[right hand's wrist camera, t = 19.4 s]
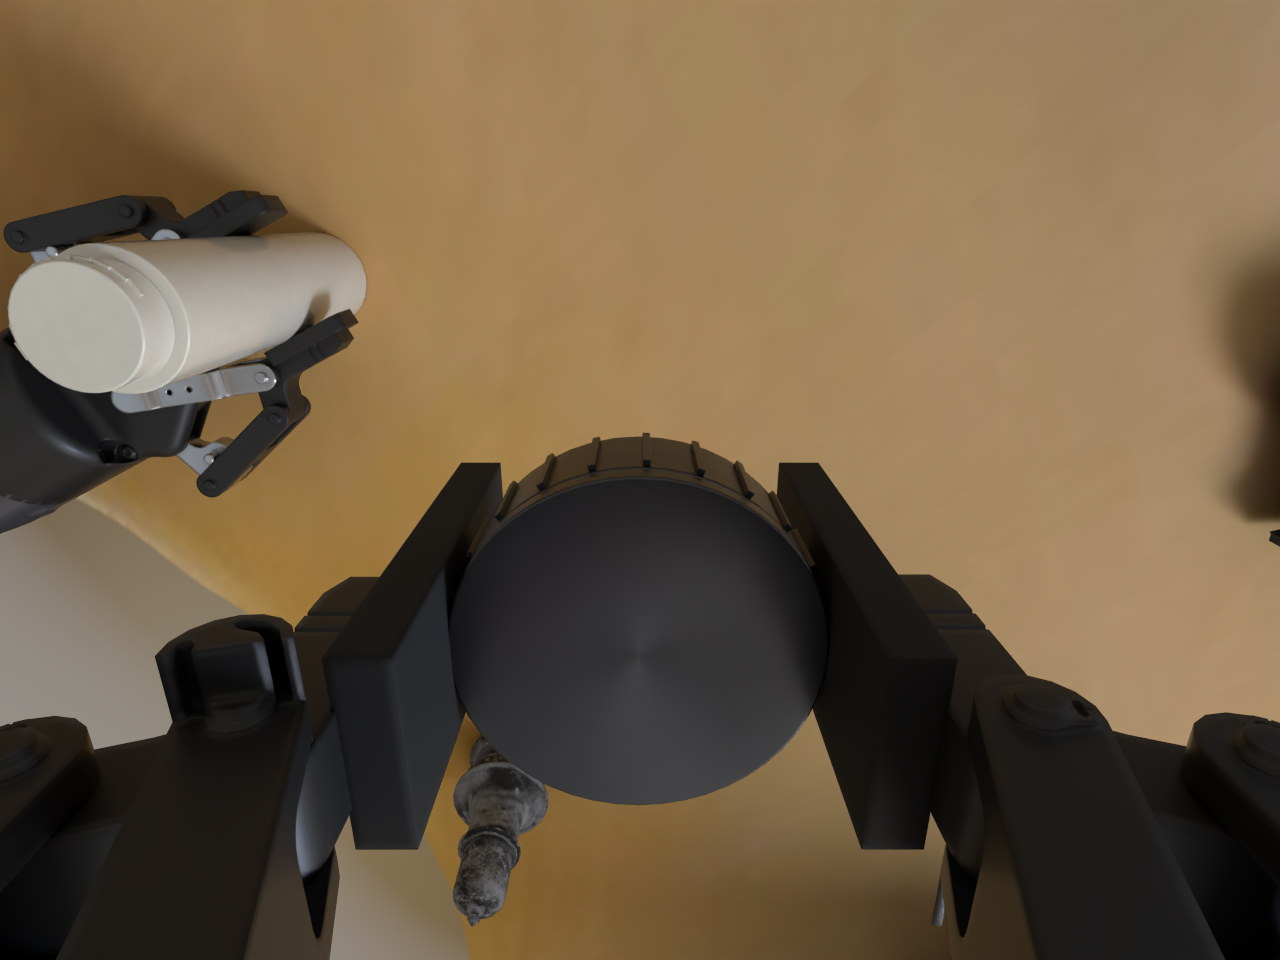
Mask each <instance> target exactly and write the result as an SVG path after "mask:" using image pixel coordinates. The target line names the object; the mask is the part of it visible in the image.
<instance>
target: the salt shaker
mask: <svg viewBox="0 0 1280 960" xmlns="http://www.w3.org/2000/svg"><path fill="white" fill-rule="evenodd" d="M470 763H471V767H470V768H469V770H468V771H467V772H466V773H465V774H464V775H463V776H461V778H460V780H459V781H458V783H457V784H456V787H455V791H454V795H453V797H454V806H455V808H456V810H457V812H458V815H459V816H460V817H461V818H462V819H463V821H464V822H465V823H466V824H467V825H469V829H468V832H467V833H465V834H464V835H463V836H462V838H461V840H460V841H459V845H458V854H459V857H460V859H461V864H460V867H459V871H458V875H457V878H456V882H455V886H454V890H453V898H454V902H455V904H456V906H457V908H458V910H459V911H460V912H461V913H462V914H464V915H465V916H467V920H468V921H469V924H470V925H471V926H472V927H473V926H474V925H476V924H477V923H479V922H480V919H485V918H489V917H491V916H493V915H494V914H495V913H497V912H498V911H499V910H500V909H501V907H502V906H503V903H504V901H505V897H506V892H507V887H508V882H509V876H510V871H511V869H512V868H514V867H515V866H516V864H517V863H518V861H519V858H520V854H521V853H520V846H519V844H518V836H519V835H521V834H523V833H525V832H527V831H529V830H531V829H533V828H534V827H535V826H536V825H538V824H539V823H540V822H541V820H542V819H543V817H544V816H545V814H546V810H547V807H548V794H547V792H546V789H545V786H544V783H542V782H540V781H538V780H536V779H535V778H533V777H531V776H529V775H528V774H526V773H525V772H523V771H522V770H520V769H519V768H517V767H516V766H514V765H513V764H511V763H510V762H509V761H508V760H507V759H505V758H504V757H503V756H502V755H501V754H500V753H498V752H497V751H496V750H495V749H494V748H493V747H492V746H491V745H490V743H489V742H488V741H487V740H486V739H485V738H484V737H483V736H482V737H481V738H479V739H478V740H477V741H476V743H475V745H474V746H473V748H472V751H471V755H470Z"/></svg>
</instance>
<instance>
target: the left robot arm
mask: <svg viewBox="0 0 1280 960" xmlns="http://www.w3.org/2000/svg"><path fill="white" fill-rule="evenodd" d="M286 213H287V210H286V208H285V207H284V205H283V204H282V202H281V201H280V199H279V197H278V196H269V195H261V194H260V192H256V191H234V192H229V193H227V194H225V195H224V196H222V197H220V198H219V199H217V200H215V201H214V202H212V203H211V204H209V205H207V206H206V207H204V208H202V209H201V210H199V211H197V212H196V213H194V214H192V215H191V216H189V217H187V218H186V219H185V218H184V217H182V216H181V215H180V214H179V213H177V212H176V208H175V206H174V205H173V203H172V202H171V201H169V200H168V199H166V198H164V197H153V196H128V195H121V196H116V197H112V198H108V199H104V200H100V201H96V202H92V203H88V204H84V205H79V206H75V207H71V208H67V209H63V210H59V211H55V212H51V213H47V214H43V215H39V216H34V217H30V218H26V219H22V220H18V221H14V222H10V223H8V224H7V225H6V226H5V228H4V238H5V240H6V242H7V244H8V245H9V246H10V247H11V248H12V249H14V250H15V251H18V252H30V254H31V256H32V258H33V260H34V262H35V263H36V262H39V261H41V260H43V259H46V258H48V257H51V256H57V255H59V254H60V253H61V252H63V251H65V250H67V249H69V248H71V247H74V246H77V245H81V244H87V243H99V242H103V241H107V240H111V239H115V238H120V237H124V236H128V235H132V234H136V233H141V234H142V235H143V236H145V237H146V238H147V239H148V240H164V239H184V238H204V237H225V236H245V235H252V234H254V233H255V232H257V231H259V230H260V229H262V228H264V227H266V226H267V225H269V224H271V223H272V222H274V221H276V220H277V219H279V218H281V217H282V216H284V215H285V214H286ZM357 323H359V322H358V321H357V319H356V318H355V316H354V314H353V313H352V311H351V310H350V309H348V310H344V311H341V312H338V313H336V314H334V315H332V316H330V317H328V318H326V319H324V320H322V321H321V322H319V323H317V324H315V325H313V326H312V327H310V328H308V329H306V330H304V331H303V332H301V333H299V334H297V335H296V336H294V337H292V338H290V339H288V340H287V341H285V342H284V343H282V344H280V345H278V346H276V347H274V348H272V349H270V350H269V351H267V352H265V353H264V354H265V355H266V356H267V357H262V358H255V359H240V360H237V361H234V362H231V363H229V364H226V365H223V366H220V367H218V368H215V369H212V370H209V371H206V372H204V373H201V374H198V375H195V376H193V377H190V378H187V379H184V380H182V381H179V382H176V383H173V384H171V385H168V386H165V387H162V388H160V389H157V390H154V391H150V392H147V393H140V394H124V393H117V392H113V391H109V392H104V393H86V392H80V391H76V390H72V389H69V388H66V387H64V386H61V385H59V384H57V383H55V382H54V381H52V380H50V379H49V378H47V377H46V376H44V375H43V374H42V373H40V372H39V371H38V370H37V369H36V368H35V367H34V366H33V365H32V364H31V363H30V362H29V361H28V360H26V359H25V358H24V356H23V355H22V354H21V352H20V351H19V349H18V348H17V347H16V345H15V344H14V343H15V339H14V337H13V335H12V333H11V330H10V328H9V327H8V328H7V329H5V330H3V331H2V332H0V533H3V532H6V531H8V530H11V529H14V528H17V527H19V526H22V525H25V524H27V523H30V522H32V521H34V520H36V519H38V518H40V517H42V516H45V515H48V514H50V513H52V512H54V511H55V510H56V509H58V508H59V507H60V506H62V505H64V504H66V503H67V502H69V501H71V500H73V499H75V498H77V497H78V496H80V495H81V494H84V493H86V492H87V491H89V490H91V489H93V488H95V487H97V486H98V485H100V484H102V483H104V482H106V481H107V480H109V479H111V478H113V477H115V476H117V475H118V474H120V473H122V472H124V471H126V470H127V469H129V468H131V467H133V466H135V465H137V464H138V463H140V462H142V461H144V460H146V459H147V458H150V457H171V456H175V455H176V456H177V457H179V458H180V459H181V460H182V461H183V462H184V463H186V464H187V465H188V466H189V467H190V468H192V469H193V470H194V471H195V472H196V473H197V474H199V475H200V476H199V477H198V479H197V487H198V489H199V491H200V492H201V493H202V494H204V495H205V496H208V497H217V496H219V495H220V494H222V493H223V492H225V491H226V490H228V489H230V488H231V487H233V486H234V485H235V484H237V483H238V482H240V481H241V480H243V479H244V478H246V477H247V476H248V475H249V474H250V473H251V472H252V471H253V470H254V469H255V468H256V467H257V466H258V465H259V464H260V463H261V462H262V461H263V460H264V459H265V458H266V457H267V456H268V454H269V453H270V452H271V451H272V450H273V449H274V448H275V447H276V446H277V445H278V444H279V443H280V442H281V441H282V440H283V439H284V438H285V437H286V436H287V435H288V434H289V433H290V432H291V431H292V430H293V429H294V428H295V427H296V426H297V425H298V424H299V423H300V422H301V421H302V420H303V419H304V418H305V417H306V416H307V415H308V414H309V412H310V410H311V405H310V402H309V400H308V399H307V398H306V397H305V396H303V395H302V394H301V391H300V387H299V378H300V375H301V374H302V373H303V372H304V371H305V370H307V369H308V368H310V367H312V366H314V365H316V364H318V363H319V362H321V361H323V360H325V359H327V358H328V357H330V356H332V355H334V354H336V353H338V352H339V351H341V350H343V349H345V348H347V347H348V346H349V344H350V343H351V342H352V340H353V339H354V338H353V336H352V334H351V333H350V331H349V330H348V328H350V327H352V326H354V325H356V324H357ZM256 392H258V393H259V396H260V399H261V402H262V405H263V409H264V410H263V411H262V412H261V413H260V414H259V415H258V416H257V417H256V418H255V419H254V420H253V421H252V422H251V423H250V424H249V425H248V426H247V427H246V428H245V429H244V430H243V431H242V432H241V433H240V434H239V435H238V437H237V438H236V439H235V440H233V439H232V438H229V437H221V438H219V439H217V440H215V441H213V442H206V441H203V440H201V439H200V436H201V433H202V430H203V427H204V424H205V421H206V417H207V414H208V411H209V408H210V405H211V402H212V401H213V400H218V399H222V398H225V397H229V396H235V395H242V394H249V393H256Z"/></svg>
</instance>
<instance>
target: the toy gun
mask: <svg viewBox="0 0 1280 960" xmlns="http://www.w3.org/2000/svg"><path fill="white" fill-rule="evenodd" d="M1270 533H1271V536H1270V539H1269V541H1271V542H1273V543H1274V544H1276V545H1278V546H1280V529H1279V530H1275V531H1271V532H1270Z"/></svg>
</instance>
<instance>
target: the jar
mask: <svg viewBox="0 0 1280 960" xmlns="http://www.w3.org/2000/svg"><path fill="white" fill-rule="evenodd" d="M365 294H366V277H365V273H364V269H363V267H362V264H361V262H360V260H359V259H358V257H357V256H356V254H355V253H354V252H353V251H352V249H351V248H350V247H349V246H347V245H346V244H345V243H344V242H342V241H341V240H339V239H338V238H336V237H334V236H331V235H329V234H325V233H319V232H307V233H286V234H266V235H245V236H225V237H204V238H184V239H164V240H143V241H123V242H102V243H87V244H81V245H77V246H74V247H71V248H69V249H67V250H65V251H63V252H61V253H60V254H59V255H57V256H51V257H48V258H46V259H43V260H41V261H39V262H36V263H33V264H32V265H31V266H30V267H29V268H28V269H27V270H26V271H25V272H24V273H22V274H20V275H19V277H18V279H17V281H16V283H15V284H14V286H13V288H12V289H11V293H10V297H9V301H8V306H7V309H8V319H9V325H8V326H9V328H10V330H11V333H12V335H13V337H14V339H15V343H14V344H15V345H16V347H17V348H18V349H19V351H20V352H21V354H22V355H23V356H24V358H25V359H26V360H28V361H29V362H30V363H31V364H32V365H33V366H34V367H35V368H36V369H37V370H38V371H39V372H40V373H42V374H43V375H44V376H46V377H47V378H49V379H50V380H52V381H54V382H55V383H57V384H59V385H61V386H64V387H66V388H69V389H72V390H76V391H80V392H86V393H104V392H109V391H113V392H117V393H124V394H140V393H147V392H150V391H154V390H157V389H160V388H162V387H165V386H168V385H171V384H173V383H176V382H179V381H182V380H184V379H187V378H190V377H193V376H195V375H198V374H201V373H204V372H206V371H209V370H212V369H215V368H218V367H220V366H223V365H226V364H229V363H231V362H234V361H237V360H240V359H242V358H245V357H248V356H251V355H253V354H256V353H259V352H262V351H264V350H267V349H270V348H273V347H275V346H278V345H280V344H282V343H284V342H285V341H287V340H288V339H290V338H292V337H294V336H296V335H297V334H299V333H301V332H303V331H304V330H306V329H308V328H310V327H312V326H313V325H315V324H317V323H319V322H321V321H322V320H324V319H326V318H328V317H330V316H332V315H334V314H336V313H338V312H341V311H344V310H348V309H350V310H351V311H352V313H353V314H356V312H357V311H358V310H359V309H360V307H361V305H362V303H363V301H364V298H365Z"/></svg>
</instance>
